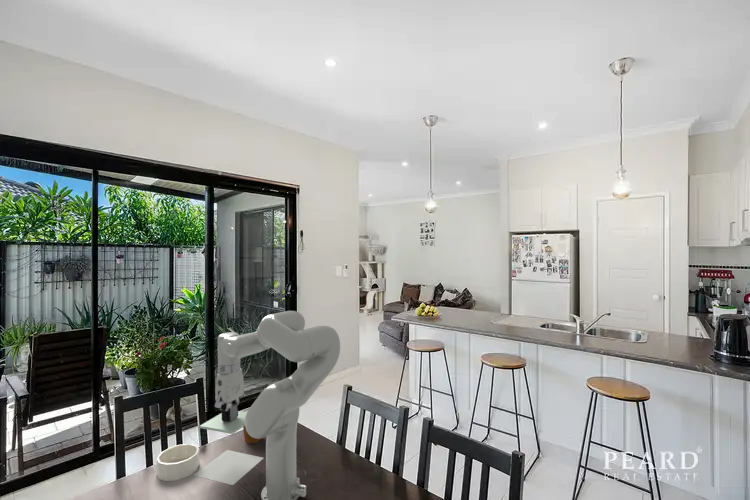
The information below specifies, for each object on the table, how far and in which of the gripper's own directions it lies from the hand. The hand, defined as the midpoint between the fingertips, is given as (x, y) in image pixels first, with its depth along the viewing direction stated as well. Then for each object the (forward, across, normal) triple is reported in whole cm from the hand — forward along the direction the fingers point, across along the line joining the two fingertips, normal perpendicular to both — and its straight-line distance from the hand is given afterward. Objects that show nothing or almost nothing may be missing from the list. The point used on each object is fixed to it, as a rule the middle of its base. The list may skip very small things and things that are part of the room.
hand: (230, 417), depth 134 cm
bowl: (+18, -7, +17) cm, 25 cm away
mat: (+18, 0, +1) cm, 18 cm away
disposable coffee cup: (+18, +19, +5) cm, 26 cm away
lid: (+1, 0, 0) cm, 1 cm away
